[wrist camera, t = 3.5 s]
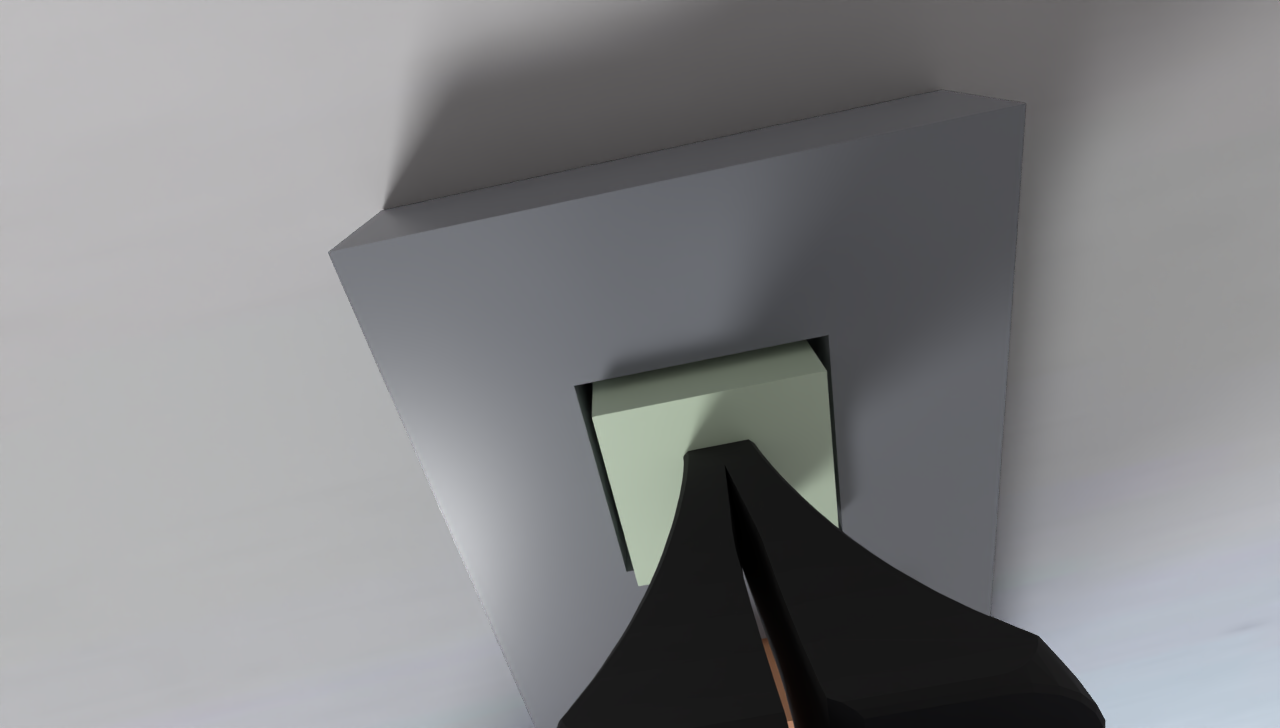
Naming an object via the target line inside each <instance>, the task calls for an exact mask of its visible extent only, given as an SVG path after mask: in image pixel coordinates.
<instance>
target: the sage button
mask: <svg viewBox="0 0 1280 728" xmlns="http://www.w3.org/2000/svg"><path fill="white" fill-rule="evenodd" d="M592 420H593V423H594V427H595V430H596V434H597V438H598V441H599V445H600V449H601V452H602V456H603V460H604V463H605V467H606V470H607V474H608V478H609V481H610V485H611V489H612V492H613V496H614V500H615V503H616V507H617V510H618V514H619V518H620V521H621V525H622V529H623V532H624V536H625V540H626V543H627V547H628V550H629V554H630V558H631V561H632V565H633V569H634V572H635V576H636V579H637V583H638V586H643V585H648V584H650V582H651V580H652V577H653V575H654V573H655V571H656V568H657V566H658V563H659V561H660V558H661V556H662V553H663V550H664V547H665V544H666V541H667V538H668V535H669V532H670V529H671V526H672V523H673V520H674V516H675V512H676V508H677V503H678V499H679V495H680V490H681V484H682V478H683V467H684V460H683V457H684V455H685V454H686V453H687V452H688V451H691V450H696V449H701V448H706V447H711V446H716V445H722V444H727V443H732V442H737V441H742V440H747V439H749V440H750V441H752V442H754V443H755V444H756V446H757V447H758V449H759V450H760V451H761V453H762V454H763V455H764V456H765V458H766V459H767V460H768V461H769V462H770V464H771V465H772V466H773V467H774V468H775V469H776V470H777V471H778V472H779V474H780V475H781V476H782V477H783V478H784V479H785V480H786V481H787V482H788V483H789V484H790V485H791V486H792V487H793V488H794V489H795V490H796V491H797V492H798V493H799V494H800V495H801V496H802V497H803V498H804V499H805V500H806V501H808V502H809V503H810V504H811V505H812V506H813V507H814V508H815V509H816V510H817V511H819V512H820V513H821V514H822V515H823V516H825V517H826V518H827V519H828V520H829V521H830V522H832V523H833V524H834V525H835V526H836V527H838V513H837V500H836V487H835V474H834V460H833V447H832V434H831V421H830V408H829V394H828V381H827V370H826V369H825V367H824V366H823V364H822V363H821V361H820V360H819V358H818V357H817V355H816V354H815V352H814V351H813V349H812V348H811V346H810V345H809V343H808V342H807V340H801V341H796V342H791V343H786V344H781V345H776V346H771V347H766V348H761V349H756V350H751V351H746V352H741V353H736V354H731V355H726V356H721V357H716V358H711V359H706V360H701V361H696V362H691V363H686V364H681V365H676V366H671V367H666V368H661V369H656V370H651V371H646V372H641V373H636V374H631V375H626V376H621V377H616V378H611V379H606V380H601V381H596V382H593V396H592ZM838 528H839V527H838Z"/></svg>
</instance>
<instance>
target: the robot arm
mask: <svg viewBox="0 0 1280 728" xmlns="http://www.w3.org/2000/svg"><path fill="white" fill-rule="evenodd" d="M683 460H684V467H683V478H682V484H681V490H680V495H679V499H678V503H677V508H676V512H675V516H674V520H673V523H672V526H671V529H670V532H669V535H668V538H667V541H666V544H665V547H664V550H663V553H662V556H661V558H660V561H659V563H658V566H657V568H656V571H655V573H654V575H653V577H652V580H651V582H650V584H649V586H648V588H647V591H646V593H645V595H644V597H643V599H642V600H641V602H640V604H639V606H638V608H637V610H636V612H635V614H634V616H633V618H632V619H631V621H630V623H629V625H628V626H627V628H626V630H625V631H624V633H623V635H622V636H621V638H620V639H619V641H618V642H617V644H616V645H615V647H614V649H613V650H612V652H611V653H610V655H609V656H608V658H607V659H606V661H605V662H604V664H603V665H602V667H601V668H600V670H599V671H598V672H597V674H596V675H595V677H594V678H593V679H592V681H591V682H590V683H589V685H588V686H587V687H586V688H585V690H584V691H583V692H582V693H581V695H580V696H579V697H578V698H577V700H576V701H575V702H574V703H573V705H572V706H571V707H570V708H569V710H568V711H567V712H566V713H565V715H564V716H563V717H562V718H561V719H560V721H559V722H558V726H557V728H789V726H788V722H787V719H786V715H785V711H784V708H783V705H782V702H781V699H780V696H779V693H778V690H777V687H776V684H775V681H774V678H773V674H772V671H771V668H770V665H769V662H768V659H767V655H766V652H765V649H764V646H763V642H762V639H761V636H760V632H759V629H758V626H757V622H756V619H755V616H754V612H753V609H752V605H751V602H750V598H749V595H748V591H747V588H746V584H745V581H744V577H743V572H744V575H745V578H746V580H747V583H748V586H749V589H750V592H751V595H752V597H753V600H754V603H755V606H756V609H757V611H758V614H759V617H760V620H761V623H762V625H763V628H764V631H765V634H766V637H767V639H768V642H769V645H770V648H771V651H772V653H773V656H774V659H775V662H776V665H777V667H778V670H779V674H780V677H781V680H782V683H783V686H784V690H785V693H786V697H787V701H788V705H789V709H790V712H791V716H792V720H793V724H794V728H1105V719H1104V717H1103V715H1102V713H1101V711H1100V709H1099V708H1098V706H1097V704H1096V703H1095V701H1094V700H1093V699H1092V697H1091V696H1090V695H1089V693H1088V692H1087V691H1086V689H1085V688H1084V687H1083V685H1082V684H1081V682H1080V681H1079V680H1078V679H1077V677H1076V676H1075V675H1074V674H1073V673H1072V672H1071V671H1070V670H1069V668H1068V667H1067V666H1066V665H1065V664H1064V663H1063V662H1062V661H1061V660H1060V658H1059V657H1058V656H1057V655H1056V654H1055V653H1054V652H1053V651H1052V650H1051V649H1050V648H1049V647H1048V646H1047V644H1046V643H1045V642H1044V641H1043V640H1042V639H1041V638H1040V637H1039V636H1038V635H1035V634H1033V633H1030V632H1028V631H1025V630H1023V629H1020V628H1018V627H1015V626H1013V625H1010V624H1008V623H1006V622H1003V621H1001V620H998V619H996V618H993V617H991V616H988V615H986V614H983V613H981V612H978V611H976V610H974V609H972V608H970V607H967V606H965V605H963V604H961V603H959V602H957V601H955V600H953V599H951V598H949V597H947V596H945V595H943V594H941V593H939V592H937V591H935V590H933V589H931V588H929V587H928V586H926V585H924V584H922V583H921V582H919V581H917V580H915V579H913V578H912V577H910V576H908V575H906V574H905V573H903V572H901V571H899V570H898V569H896V568H894V567H893V566H891V565H890V564H888V563H887V562H885V561H884V560H882V559H880V558H879V557H877V556H876V555H874V554H873V553H871V552H870V551H869V550H867V549H866V548H864V547H863V546H862V545H860V544H859V543H857V542H856V541H855V540H853V539H852V538H851V537H849V536H848V535H847V534H845V533H844V532H843V531H841V530H840V529H839V528H838V527H836V526H835V525H834V524H833V523H832V522H830V521H829V520H828V519H827V518H826V517H825V516H823V515H822V514H821V513H820V512H819V511H817V510H816V509H815V508H814V507H813V506H812V505H811V504H810V503H809V502H808V501H806V500H805V499H804V498H803V497H802V496H801V495H800V494H799V493H798V492H797V491H796V490H795V489H794V488H793V487H792V486H791V485H790V484H789V483H788V482H787V481H786V480H785V479H784V478H783V477H782V476H781V475H780V474H779V472H778V471H777V470H776V469H775V468H774V467H773V466H772V465H771V464H770V462H769V461H768V460H767V459H766V458H765V456H764V455H763V454H762V453H761V451H760V450H759V449H758V447H757V446H756V444H755V443H754V442H752V441H750V440H749V439H747V440H742V441H737V442H732V443H727V444H722V445H716V446H711V447H706V448H701V449H696V450H691V451H688V452H687V453H686V454H685V455H684V457H683ZM742 569H743V570H742Z"/></svg>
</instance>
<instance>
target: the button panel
mask: <svg viewBox="0 0 1280 728" xmlns="http://www.w3.org/2000/svg"><path fill="white" fill-rule="evenodd" d="M1025 113H1026V103H1021V102H1015V101H1009V100H1003V99H996V98H990V97H984V96H977V95H971V94H965V93H958V92H952V91H946V90H939V91H934V92H929V93H925V94H920V95H915V96H911V97H906V98H901V99H897V100H892V101H888V102H883V103H878V104H874V105H869V106H864V107H860V108H855V109H850V110H846V111H841V112H837V113H832V114H827V115H823V116H818V117H813V118H809V119H804V120H799V121H795V122H790V123H786V124H781V125H776V126H772V127H767V128H762V129H758V130H753V131H748V132H744V133H739V134H735V135H730V136H725V137H721V138H716V139H711V140H707V141H702V142H697V143H693V144H688V145H684V146H679V147H674V148H670V149H665V150H660V151H656V152H651V153H646V154H642V155H637V156H632V157H628V158H623V159H619V160H614V161H609V162H605V163H600V164H595V165H591V166H586V167H581V168H577V169H572V170H568V171H563V172H558V173H554V174H549V175H544V176H540V177H535V178H530V179H526V180H521V181H517V182H512V183H507V184H503V185H498V186H493V187H489V188H484V189H479V190H475V191H470V192H466V193H461V194H456V195H452V196H447V197H442V198H438V199H433V200H428V201H424V202H419V203H415V204H410V205H405V206H401V207H396V208H391V209H387V210H382V211H380V212H379V213H378V214H376V215H375V216H374V217H373V218H371V219H370V220H369V221H367V222H366V223H365V224H364V225H362V226H361V227H360V228H358V229H357V230H356V231H355V232H353V233H352V234H351V235H349V236H348V237H347V238H346V239H344V240H343V241H342V242H340V243H339V244H338V245H337V246H335V247H334V248H333V249H331V250H330V251H329V252H328V254H329V256H330V258H331V260H332V263H333V265H334V267H335V270H336V272H337V274H338V276H339V279H340V281H341V283H342V286H343V288H344V290H345V293H346V295H347V297H348V299H349V302H350V304H351V306H352V309H353V311H354V313H355V315H356V318H357V320H358V322H359V325H360V327H361V329H362V332H363V334H364V336H365V338H366V341H367V343H368V345H369V348H370V350H371V352H372V355H373V357H374V359H375V361H376V364H377V366H378V368H379V371H380V373H381V375H382V377H383V380H384V382H385V384H386V387H387V389H388V391H389V394H390V396H391V398H392V400H393V403H394V405H395V407H396V410H397V412H398V414H399V416H400V419H401V421H402V423H403V426H404V428H405V430H406V433H407V435H408V437H409V439H410V442H411V444H412V446H413V449H414V451H415V453H416V455H417V458H418V460H419V462H420V465H421V467H422V469H423V472H424V474H425V476H426V478H427V481H428V483H429V485H430V488H431V490H432V492H433V494H434V497H435V499H436V501H437V504H438V506H439V508H440V511H441V513H442V515H443V517H444V520H445V522H446V524H447V527H448V529H449V531H450V533H451V536H452V538H453V540H454V543H455V545H456V547H457V550H458V552H459V554H460V556H461V559H462V561H463V563H464V566H465V568H466V570H467V572H468V575H469V577H470V579H471V582H472V584H473V586H474V589H475V591H476V593H477V595H478V598H479V600H480V602H481V605H482V607H483V609H484V611H485V614H486V616H487V618H488V621H489V623H490V625H491V628H492V630H493V632H494V634H495V637H496V639H497V641H498V644H499V646H500V648H501V650H502V653H503V655H504V657H505V660H506V662H507V664H508V667H509V669H510V671H511V673H512V676H513V678H514V680H515V683H516V685H517V687H518V690H519V692H520V694H521V696H522V699H523V701H524V703H525V706H526V708H527V710H528V712H529V715H530V717H531V719H532V722H533V724H534V726H535V728H557V726H558V722H559V721H560V719H561V718H562V717H563V716H564V715H565V713H566V712H567V711H568V710H569V708H570V707H571V706H572V705H573V703H574V702H575V701H576V700H577V698H578V697H579V696H580V695H581V693H582V692H583V691H584V690H585V688H586V687H587V686H588V685H589V683H590V682H591V681H592V679H593V678H594V677H595V675H596V674H597V672H598V671H599V670H600V668H601V667H602V665H603V664H604V662H605V661H606V659H607V658H608V656H609V655H610V653H611V652H612V650H613V649H614V647H615V645H616V644H617V642H618V641H619V639H620V638H621V636H622V635H623V633H624V631H625V630H626V628H627V626H628V625H629V623H630V621H631V619H632V618H633V616H634V614H635V612H636V610H637V608H638V606H639V604H640V602H641V600H642V599H643V597H644V595H645V593H646V591H647V588H648V586H649V584H648V585H643V586H638V583H637V579H636V576H635V572H634V569H633V565H632V561H631V558H630V554H629V550H628V547H627V543H626V540H625V536H624V532H623V529H622V525H621V521H620V518H619V514H618V510H617V507H616V503H615V500H614V496H613V492H612V489H611V485H610V481H609V478H608V474H607V470H606V467H605V463H604V460H603V456H602V452H601V449H600V445H599V441H598V438H597V434H596V430H595V427H594V423H593V420H592V396H593V382H596V381H601V380H606V379H611V378H616V377H621V376H626V375H631V374H636V373H641V372H646V371H651V370H656V369H661V368H666V367H671V366H676V365H681V364H686V363H691V362H696V361H701V360H706V359H711V358H716V357H721V356H726V355H731V354H736V353H741V352H746V351H751V350H756V349H761V348H766V347H771V346H776V345H781V344H786V343H791V342H796V341H801V340H807V342H808V343H809V345H810V346H811V348H812V349H813V351H814V352H815V354H816V355H817V357H818V358H819V360H820V361H821V363H822V364H823V366H824V367H825V369H826V370H827V381H828V394H829V408H830V421H831V434H832V447H833V460H834V474H835V487H836V500H837V513H838V527H839V529H840V530H841V531H843V532H844V533H845V534H847V535H848V536H849V537H851V538H852V539H853V540H855V541H856V542H857V543H859V544H860V545H862V546H863V547H864V548H866V549H867V550H869V551H870V552H871V553H873V554H874V555H876V556H877V557H879V558H880V559H882V560H884V561H885V562H887V563H888V564H890V565H891V566H893V567H894V568H896V569H898V570H899V571H901V572H903V573H905V574H906V575H908V576H910V577H912V578H913V579H915V580H917V581H919V582H921V583H922V584H924V585H926V586H928V587H929V588H931V589H933V590H935V591H937V592H939V593H941V594H943V595H945V596H947V597H949V598H951V599H953V600H955V601H957V602H959V603H961V604H963V605H965V606H967V607H970V608H972V609H974V610H976V611H978V612H981V613H983V614H986V615H988V616H990V614H991V599H992V585H993V571H994V557H995V542H996V528H997V514H998V499H999V485H1000V471H1001V456H1002V442H1003V428H1004V413H1005V399H1006V385H1007V370H1008V356H1009V342H1010V327H1011V313H1012V299H1013V284H1014V270H1015V256H1016V241H1017V227H1018V213H1019V198H1020V184H1021V170H1022V156H1023V141H1024V127H1025ZM742 570H743V569H742ZM743 577H744V581H745V584H746V588H747V591H748V595H749V598H750V602H751V605H752V609H753V612H754V616H755V619H756V622H757V626H758V629H759V632H760V636H761V639H764V638H767V637H766V634H765V631H764V628H763V625H762V623H761V620H760V617H759V614H758V611H757V609H756V606H755V603H754V600H753V597H752V595H751V592H750V589H749V586H748V583H747V580H746V578H745V575H744V572H743Z"/></svg>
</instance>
